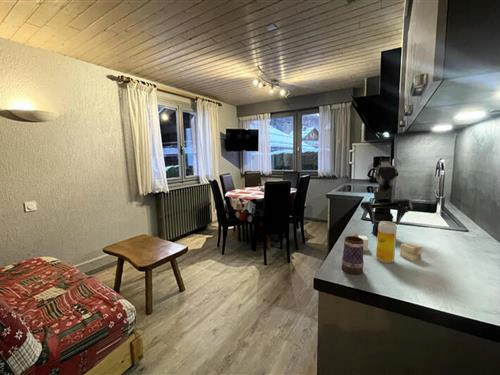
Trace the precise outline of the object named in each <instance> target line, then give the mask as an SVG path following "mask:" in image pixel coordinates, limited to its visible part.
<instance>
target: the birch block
mask: <svg viewBox="0 0 500 375" xmlns="http://www.w3.org/2000/svg"><path fill="white" fill-rule="evenodd" d="M399 249H400V250H399V256H400V257H402V258H405V259H407V260H409V261H416V260H421V259H422V252H423V246H421V245H418V244H415V243H412V242H405V243H401V244H400V248H399Z"/></svg>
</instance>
